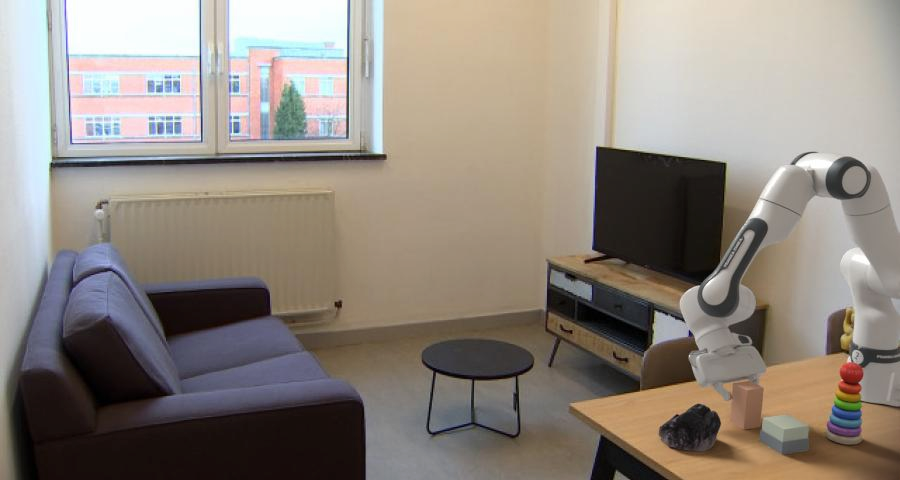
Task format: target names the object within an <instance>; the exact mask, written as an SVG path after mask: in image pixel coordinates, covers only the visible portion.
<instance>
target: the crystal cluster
mask: <svg viewBox="0 0 900 480" xmlns="http://www.w3.org/2000/svg"><path fill="white" fill-rule="evenodd" d="M721 426H722V421H721V418H720V416H719V414H718V412H717V411H716V410H711V408H710V407H709V406H706V405H705V404H701V403H696V404H694V405H692V406H691V407H690V408H688V409H687V410H686V411H685V412H683V413H681V414H678V413H676V414H674V416H672V418H670V419H669V420H667V421H666V422H665V423H663V424H662V425H661V426H659V428H658V434H657V435H658V437H659V438H661V440H662V442H663V443H664V444H666V445H667V446H668V447H670V448H676V449H678V450H685V451H692V452H693V451H695V452H697V451H698V452H706V451H707V450H710V449H712V447H713V446H714V444H715V442H716V441H717V436H718V433H719V431H720V428H721Z"/></svg>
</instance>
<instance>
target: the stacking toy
mask: <svg viewBox="0 0 900 480" xmlns="http://www.w3.org/2000/svg"><path fill="white" fill-rule="evenodd" d="M839 376H840V378H841V380H843V381H841V380H840V381H839V382H838V383H837V387H838V389H837V390H835V397H834V398H833V405H832V406H831V413H830V414H829V420H828V421H827V423H826V429H825V431H824V434H825V437H827V439H828V440H830V441H832V442H834V443H838V444H841V445H849V446H850V445H851V446H853V445H858V444H860V443H861V442H862V441H863V435H862V429H863V428H862V425H863V419H862V415H863V411H862V410H861V409H862V407H863V403H862V402H861V394H860V393H859V392H860V391H861V390H862V386H861V385H860V384H859V382H860V381H861V380H862V378H863V376H864V372H863V369H862V367H861V366H860V365H859V364H857V363H854V362H848V363H847V362H846V363H844V364H842V365H841V367H840V369H839Z"/></svg>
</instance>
